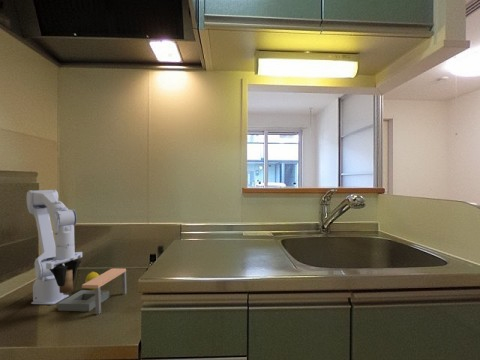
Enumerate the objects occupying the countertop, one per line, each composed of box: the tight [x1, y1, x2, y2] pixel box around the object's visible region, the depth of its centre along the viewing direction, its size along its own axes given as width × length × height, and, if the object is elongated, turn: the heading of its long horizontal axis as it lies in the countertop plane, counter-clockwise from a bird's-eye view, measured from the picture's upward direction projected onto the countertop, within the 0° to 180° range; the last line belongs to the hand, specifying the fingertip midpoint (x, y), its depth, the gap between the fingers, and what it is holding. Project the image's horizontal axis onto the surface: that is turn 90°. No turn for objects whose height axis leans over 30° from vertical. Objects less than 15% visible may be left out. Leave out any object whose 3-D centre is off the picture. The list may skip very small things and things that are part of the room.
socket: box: [57, 289, 110, 312], centre depth 104 cm, size 12×12×2 cm
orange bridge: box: [81, 267, 128, 315], centre depth 104 cm, size 6×18×10 cm, turn 173°
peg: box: [59, 269, 74, 294], centre depth 98 cm, size 4×4×7 cm
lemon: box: [84, 271, 100, 290], centre depth 117 cm, size 6×6×8 cm
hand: (66, 283), depth 98 cm, fingers closed on peg, 4 cm apart
